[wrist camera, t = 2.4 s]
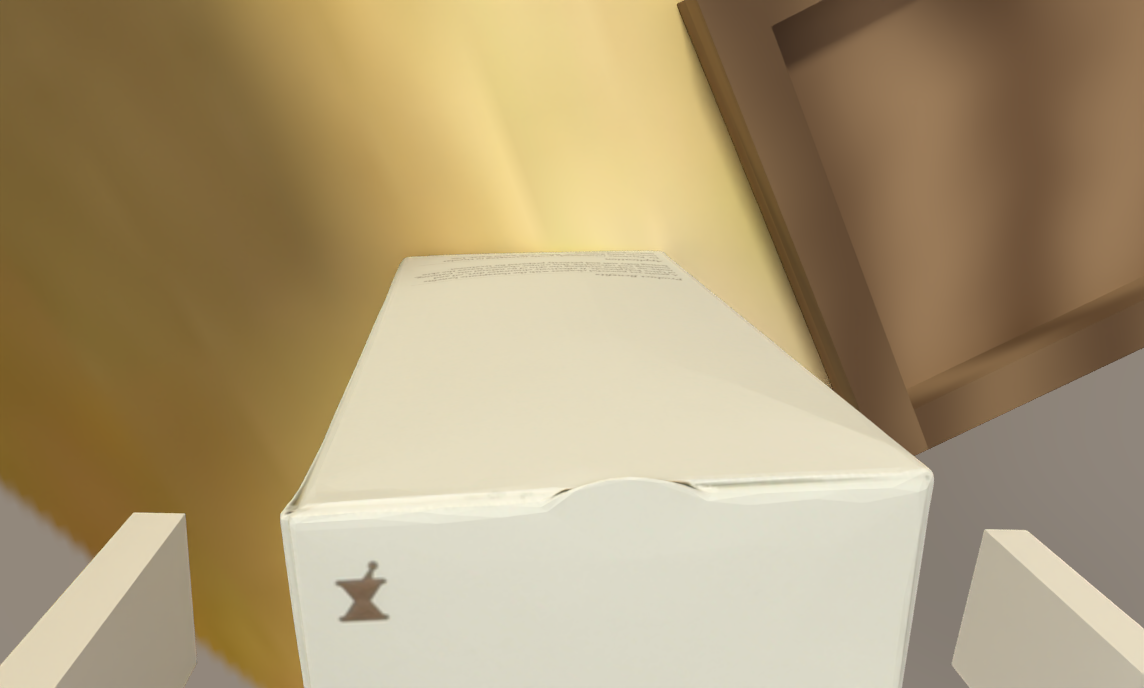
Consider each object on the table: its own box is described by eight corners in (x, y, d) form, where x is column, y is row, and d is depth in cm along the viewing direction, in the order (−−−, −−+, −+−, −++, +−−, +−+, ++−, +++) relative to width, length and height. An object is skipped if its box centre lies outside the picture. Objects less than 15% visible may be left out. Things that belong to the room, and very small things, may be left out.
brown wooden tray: (854, 440, 27) (883, 470, 25) (676, 4, 22) (695, -4, 20) (1248, 252, 26) (1312, 267, 24) (1150, -242, 22) (1221, -276, 20)
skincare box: (409, 444, 26) (297, 931, 11) (397, 238, 24) (240, 500, 9) (669, 436, 27) (888, 882, 12) (679, 236, 25) (959, 473, 10)
